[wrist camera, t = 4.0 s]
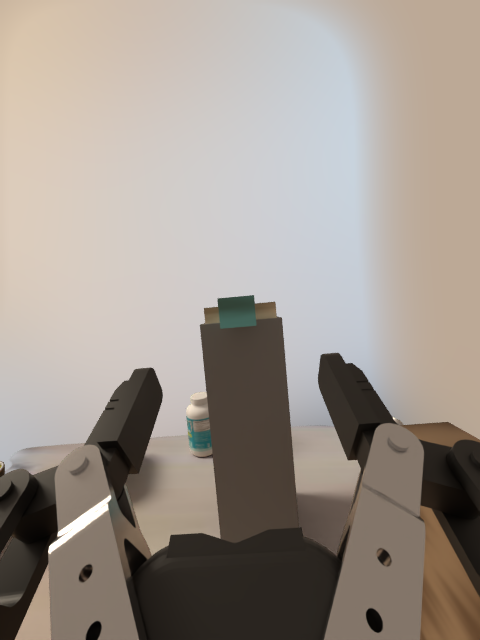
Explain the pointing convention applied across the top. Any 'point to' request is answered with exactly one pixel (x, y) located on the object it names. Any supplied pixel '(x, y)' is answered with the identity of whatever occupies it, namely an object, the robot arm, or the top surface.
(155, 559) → the robot arm
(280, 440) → the charcoal plinth
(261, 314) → the tan strapped package
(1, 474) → the ceramic cup
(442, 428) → the walnut block
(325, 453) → the top surface
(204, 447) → the pill bottle
